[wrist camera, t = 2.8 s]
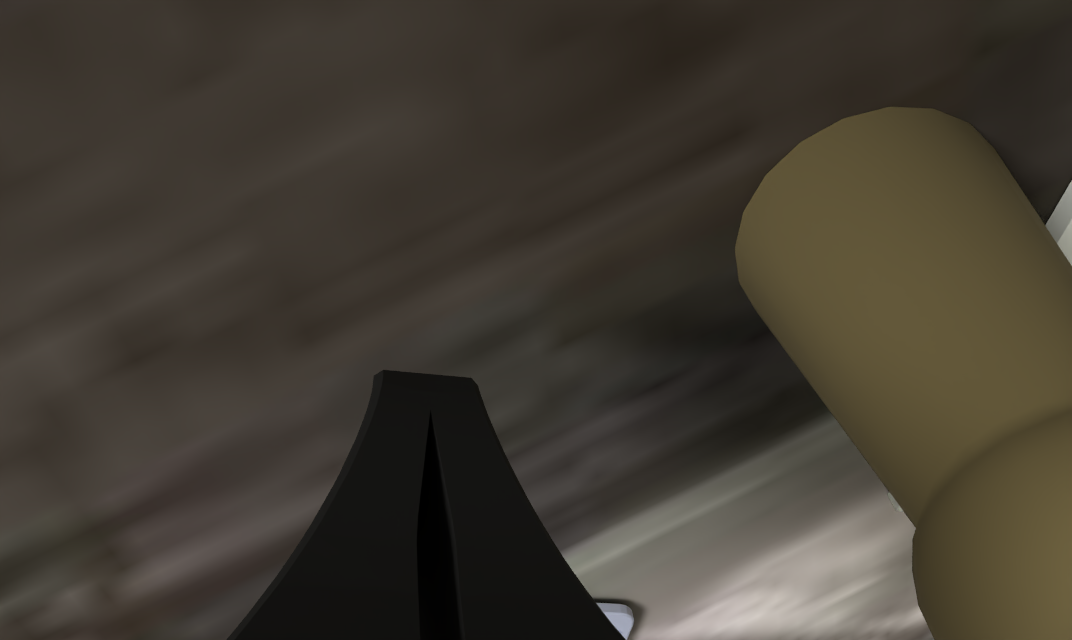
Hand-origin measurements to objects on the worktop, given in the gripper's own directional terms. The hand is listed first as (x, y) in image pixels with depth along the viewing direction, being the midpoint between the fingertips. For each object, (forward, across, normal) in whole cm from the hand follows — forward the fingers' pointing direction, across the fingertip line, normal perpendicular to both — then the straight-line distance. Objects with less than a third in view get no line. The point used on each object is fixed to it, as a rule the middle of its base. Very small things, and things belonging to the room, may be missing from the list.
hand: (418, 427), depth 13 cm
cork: (+8, -10, 0) cm, 13 cm away
